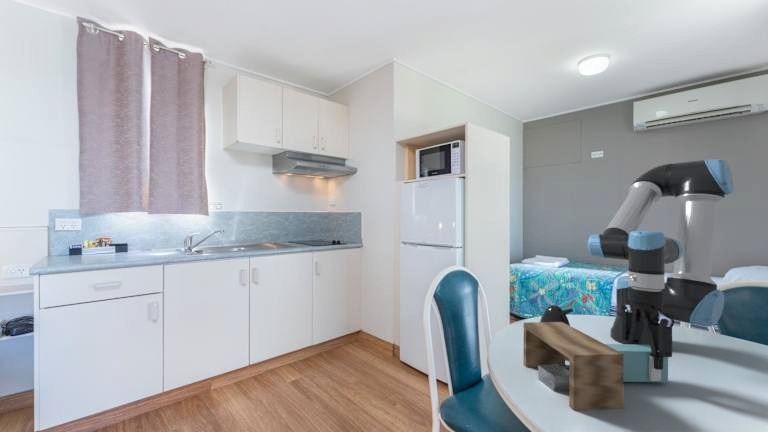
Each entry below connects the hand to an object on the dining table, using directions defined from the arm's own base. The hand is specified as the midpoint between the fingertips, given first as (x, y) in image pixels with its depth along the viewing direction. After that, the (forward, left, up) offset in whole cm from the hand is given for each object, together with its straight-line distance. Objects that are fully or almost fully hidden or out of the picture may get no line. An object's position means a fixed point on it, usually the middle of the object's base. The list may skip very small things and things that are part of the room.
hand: (645, 374), depth 84 cm
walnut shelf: (+22, 0, -2) cm, 22 cm away
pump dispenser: (+13, -19, -2) cm, 23 cm away
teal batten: (+7, -1, -1) cm, 7 cm away
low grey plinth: (+25, 0, -2) cm, 25 cm away
